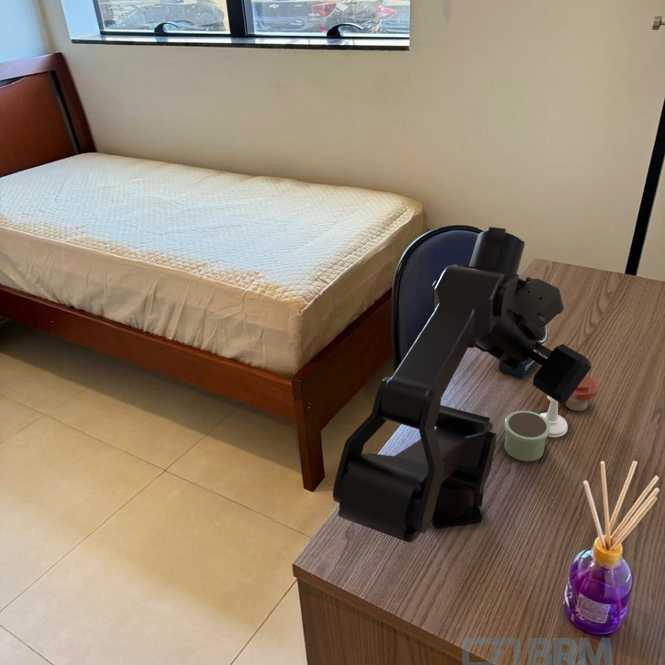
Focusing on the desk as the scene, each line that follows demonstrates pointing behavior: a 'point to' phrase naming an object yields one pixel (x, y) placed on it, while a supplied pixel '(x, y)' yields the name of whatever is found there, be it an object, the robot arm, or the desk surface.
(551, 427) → the chess piece
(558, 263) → the desk surface
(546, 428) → the pot
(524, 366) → the watch
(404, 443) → the desk surface
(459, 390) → the desk surface
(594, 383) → the mushroom
